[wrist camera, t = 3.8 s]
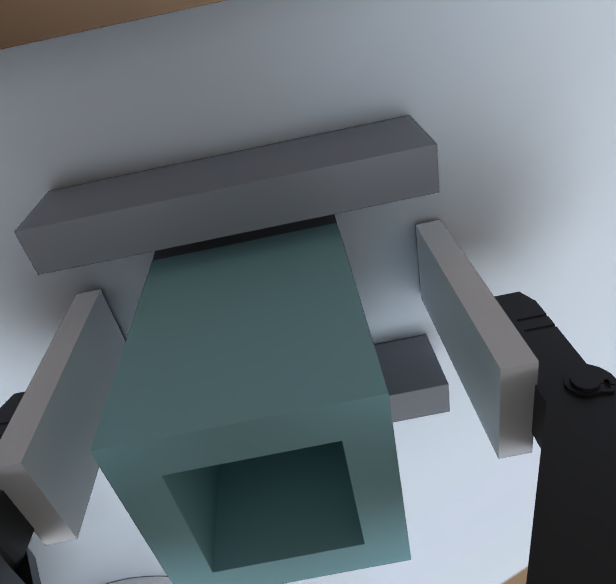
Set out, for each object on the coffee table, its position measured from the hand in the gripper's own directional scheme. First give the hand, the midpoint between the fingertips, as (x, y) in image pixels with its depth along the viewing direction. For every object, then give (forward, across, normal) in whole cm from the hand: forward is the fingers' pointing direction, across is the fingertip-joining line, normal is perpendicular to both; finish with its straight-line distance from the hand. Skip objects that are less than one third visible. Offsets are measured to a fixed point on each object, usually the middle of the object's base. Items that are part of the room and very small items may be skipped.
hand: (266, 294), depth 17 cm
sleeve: (0, 0, 0) cm, 0 cm away
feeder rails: (0, 0, 0) cm, 0 cm away
